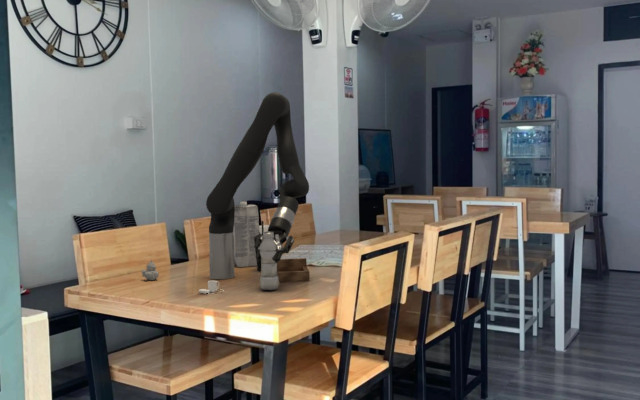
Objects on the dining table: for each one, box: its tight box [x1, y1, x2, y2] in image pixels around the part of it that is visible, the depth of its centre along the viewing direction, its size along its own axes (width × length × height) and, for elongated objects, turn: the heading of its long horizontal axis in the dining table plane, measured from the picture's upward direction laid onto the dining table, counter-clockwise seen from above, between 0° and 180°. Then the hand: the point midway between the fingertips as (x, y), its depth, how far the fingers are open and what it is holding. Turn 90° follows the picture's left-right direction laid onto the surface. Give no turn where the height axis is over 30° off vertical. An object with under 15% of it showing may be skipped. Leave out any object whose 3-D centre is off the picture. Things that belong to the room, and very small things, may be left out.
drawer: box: [277, 257, 310, 283], centre depth 239 cm, size 14×12×7 cm
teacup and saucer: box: [198, 279, 225, 295], centre depth 218 cm, size 9×8×4 cm
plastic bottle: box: [259, 232, 280, 291], centre depth 219 cm, size 6×7×20 cm
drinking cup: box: [253, 220, 264, 272], centre depth 257 cm, size 8×8×20 cm
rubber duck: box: [141, 259, 160, 281], centre depth 241 cm, size 5×7×8 cm
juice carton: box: [233, 201, 260, 268], centre depth 269 cm, size 9×10×27 cm
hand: (266, 260), depth 217 cm, fingers closed on plastic bottle, 6 cm apart
